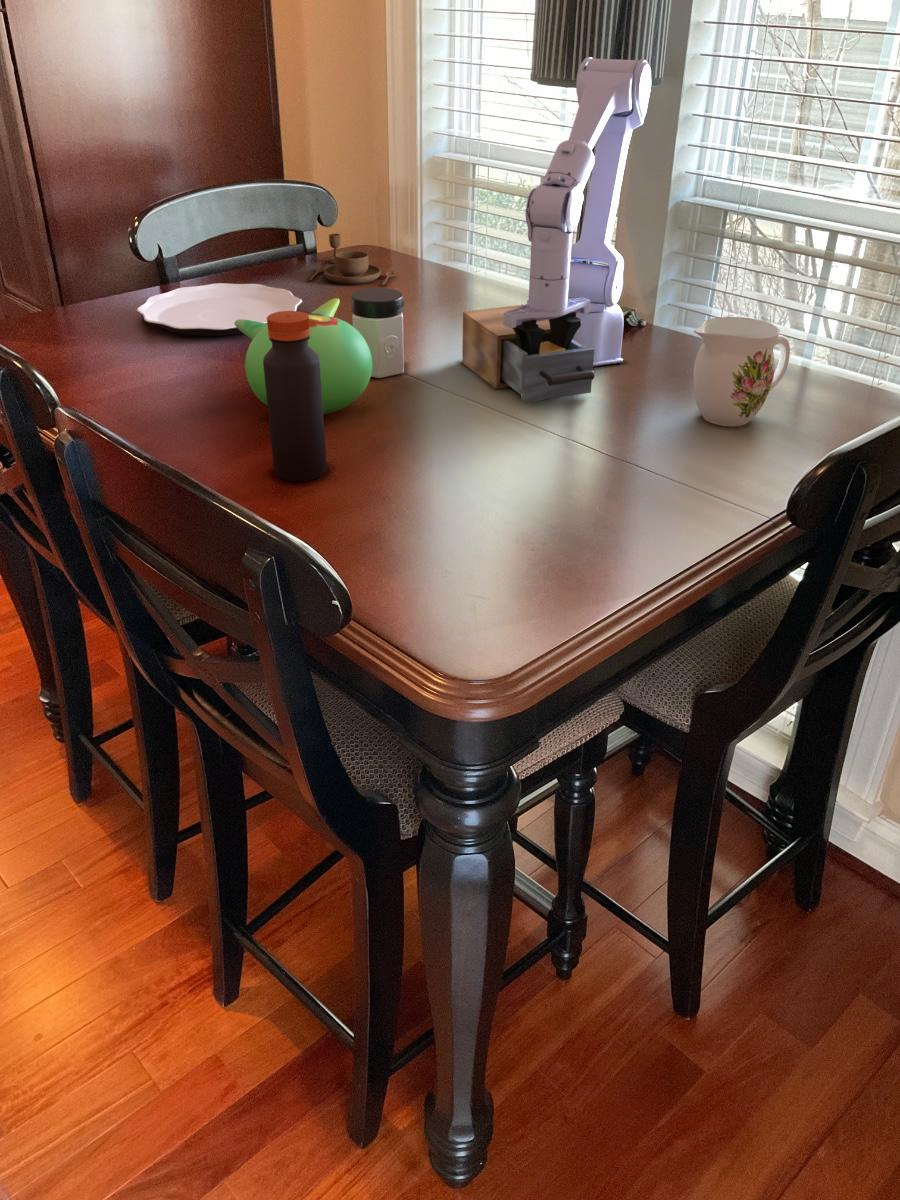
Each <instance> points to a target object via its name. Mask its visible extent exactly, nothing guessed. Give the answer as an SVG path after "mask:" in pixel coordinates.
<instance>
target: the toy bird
mask: <svg viewBox="0 0 900 1200" xmlns="http://www.w3.org/2000/svg"><path fill="white" fill-rule="evenodd" d="M340 302H341V301H340V298H338V297H335V298H331V299H329V300H327V301H326V302H325V303H323V304H321V305H320V306H319V307H318V308H316V309H314V310H313V311H312V312H310V313H306V314H307V315H308V316H309V326H310V335H309V336H310V339H309V340H308V346H310V347H311V348H312V349H313V350H314V351H315V352H316V353H317V354H318V355H319V358H320V373H321V388H322V402H323V416H324V415H328V414H331V413H335V412H338V411H340V410H343V409H345V408H347V407H348V406H350V405H351V404H352V403H354V402H355V401H356V400H358V399H359V398H360V397H361V396H362V394H363V393H364V392H365V391H366V389H367V387H368V385H369V383H370V381H371V378H372V377H371V373H372V357H371V353H370V350H369V347H368V345H367V343H366V341H365V339H364V338H363V336H362V335H361V334H360V333H359V332H358V331H357V330H356V329H355V328H354V327H353V325H351V324H350V323H349V322H347V321H345V320H343V319H340V318H338V317H334V316H335V314H336V312H337V310H338V308H339V306H340ZM234 324H235V326H236V327H237V328H238V329H239V330H240V331H241V332H243V334H244V335H245V336H246V337H248V338H249V339H250V340H251V342H250V343H249V346H248V348H247V351H246V354H245V359H244V363H245V364H244V370H245V376H246V379H247V382H248V385H249V387H250V390H251V391H252V392H253V394H254V395H255V396H256V397H257V399H258V400H259V401H260V402H261V403H262V404H264V406H267V396H266V386H265V376H264V366H263V360H264V356H265V355H266V354H267V353H268V351H269V350H270V349H271V348H272V342H271V341H270V340H269V335H268V325H267V324H265V323H261V322H256V321H251V320H245V319H239V320H236V321H235V323H234Z"/></svg>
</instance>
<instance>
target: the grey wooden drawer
mask: <svg viewBox="0 0 900 1200" xmlns="http://www.w3.org/2000/svg"><path fill="white" fill-rule="evenodd" d="M547 341H548V342H551V333H549V334H544V335H543V337H542V341H541V343H542V342H547ZM593 361H594V349H593V348H592V347H587V348H583V346H582V345H581V344H579V343H577V342H576V341H574V340H572V341H571V343H570V345H569V348H568V350H565V351H557V352H550V353H542V354H535V355H528V353H526V352H525V351H523V350H522V349H521V346H520V343H519V341H518V338H509V339H502V340H501V369H500V379H501V380H502V381H504V382H505V383H506V384H508V385H509V386H510V387H509V388H512V390H514V391H515V392H517V393H518V394H519V395H520V400H521V401H522V402H523V403H530V402H536V401H537V402H539V401H544V400H551V399H558V398H564V397H570V396H577V395H583V394H584V395H585V394H590V393H591V392H592V382H593V380H594V379H595V371H594V366H593Z"/></svg>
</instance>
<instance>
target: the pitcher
mask: <svg viewBox="0 0 900 1200" xmlns="http://www.w3.org/2000/svg"><path fill="white" fill-rule="evenodd" d="M693 332H694V333H695V334H696V335H697V336H699V337H700V338H702V344H701V345H700V347H699V349H698V352H697V354H696V357H695V361H694V367H693V374H692V375H693V377H692V383H693V384H692V385H693V393H694V394H693V395H694V398H695V403H696V406H697V409H698V410H699V413H700V414H701V416H702V418H703V420H705V421H707V422H709V423H710V424H714V425H718V426H723V427H740V426H744V425H746V424H748V423H750V421H751V420H752V419H754V418H755V416H756V415H757V414H758V413H759V411H760V410H761V409H762V407H763V405H764V404H765V402H766V400H767V398H768V396H769V393H770V391H772V390H773V389H775V387H776V386H777V385H778V384H779V383H780V381H781V380H782V378H783V377H784V375H785V373H786V371H787V369H788V365H789V362H790V356H791V347H790V343H789V340H788V338H787V337H786V336H784V335H782V334H780V329H779V328H778V326H776V325H775V324H773V323H770V322H768V321H764V320H762V319H757V318H750V317H742V316H721V317H720V316H719V317H714V318H709V319H706V320H704V321H703V322H702V325H698V326H696V327H694V328H693ZM776 345H778V346H779V350H780V353H779V360H778V363H777V366H776V362H775V361H776V359H775V352H774V349H775V346H776Z"/></svg>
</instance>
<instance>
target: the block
mask: <svg viewBox="0 0 900 1200" xmlns="http://www.w3.org/2000/svg"><path fill="white" fill-rule="evenodd" d="M565 350H566V349H564V348H562V347H560V346H557V345H555V344H553V343H551V342H548V341H547V342H542V343H541V345H540V349H539V354H542V353H550V352H557V351H565Z"/></svg>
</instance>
